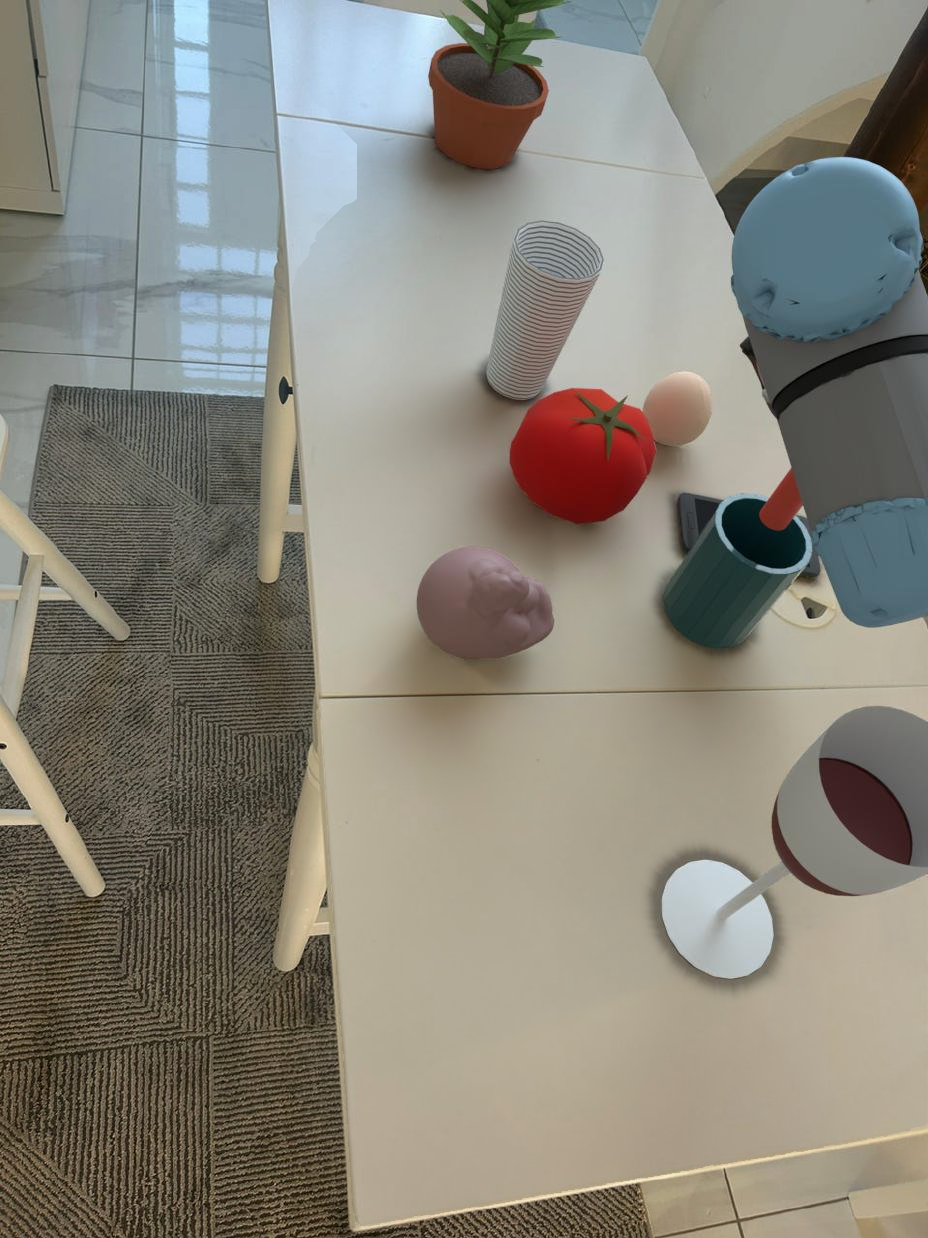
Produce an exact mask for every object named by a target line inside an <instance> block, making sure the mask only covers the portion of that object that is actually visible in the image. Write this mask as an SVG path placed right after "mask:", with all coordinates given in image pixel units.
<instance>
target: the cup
mask: <svg viewBox="0 0 928 1238" xmlns="http://www.w3.org/2000/svg"><path fill="white" fill-rule="evenodd" d="M510 248H511V249H510V253H509V259H508V263H507V267H506V273H505V278H504V282H503V286H502V287H503V288H502V292H501V297H500V302H499V307H498V310H497V311H498V312H497V315H496V320H495V321H496V322H495V327H494V331H493V337H492V341H491V342H492V343H491V346H490V351H489V356H488V360H487V361H488V362H487V365H486V370H485V375H486V378H487V382H488V383H489V385H490V386H491V388H492V389H493V390H494V391H496V392H497V393H498V394H500V395H502V396H503V397H506V398H509V399H512V400H518V401H526V400H531V399H533V398H535V397H536V396H537V395H539V394H540V393H541V392H542V390H543V388H544V387H545V385H546V382H547V380H548V378H549V377H550V374H551V373H552V371H553V368H554V367H555V364H556V363H557V361H558V359H559V356H560V354H561V353H562V351H563V348H564V347H565V345H566V343H567V341H568V339H569V337H570V335H571V333H572V331H573V329H574V327H575V325H576V323H577V321H578V319H579V317H580V315H581V313H582V311H583V309H584V307H585V305H586V303H587V302H588V299H589V297H590V295H591V293H592V291H593V290H594V287H595V285H596V283H597V281H598V279H599V277H600V275H601V273H602V271H603V267H604V264H605V259H604V256H603V252H602V249H601V248H600V247H599V245H597V244H596V242H595V241H594V240H593V239H592V238H591V237H590V236H588V235H587V234H585V233H584V232H582V231H580V230H579V229H577V227H573V226H570V225H567V224H565V223H561V222H558V221H550V220H537V221H530V222H526V223H525V224H524V225H521V226H520V227H519V228H516V231H515V234H514V236H513V239H512V243H511V247H510Z"/></svg>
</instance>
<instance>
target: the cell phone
mask: <svg viewBox="0 0 928 1238" xmlns="http://www.w3.org/2000/svg"><path fill="white" fill-rule="evenodd" d="M724 500H725V499H720V498H715V497H711V496H705V495H701V494H695V493H690V492H682V493H680V494H679V495H678V498H677V512H678V521H679V532H680V542H681V547H682V550H683V552H684V553H685V554H687V553H688V551H689V550H690V548H691V547H692V545H693V544H694V542H695V541H696V539H697V538H698V536H699V535H700V533H701V532H702V530H703V529H704V527H705V525H706V524H707V522H708V521H709V519H710V518H711V516H712V515H713V513H714V512H715V510H716V509H717V507H718V506H719V504H720V503H721V502H722V501H724ZM796 516H797V517H798V518H799V519H800V521H801V522H802V523H803V524H804V526H805V527H806V528H807V530H808V533H809V535H810V537H811V535H812V533H811V530H810V527H809V523H808V520H807V517H806V516H803V515H799V514H796ZM821 571H822V570H821V564H820V558H819V556H818V555H817V554H816V552H815V549H814V547H813V544H812V556H811V558H810V561H809V563H808V565H807V566H806V567H805V568H804V570H803V571H802V572H801V573H800V574H799V576H798V577H803V578H808V579H813V578H817V577H818V576H820V573H821Z"/></svg>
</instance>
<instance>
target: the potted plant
mask: <svg viewBox="0 0 928 1238" xmlns="http://www.w3.org/2000/svg"><path fill="white" fill-rule="evenodd" d="M459 1H460V2H461V3H462V4H463V5H464V6H465V7H466V8H467V9H469V10H470V11H471V12H472V13H473V14H474V15H475V16H476V17H477V18H478V19H479V20H481V21H482V22H483V23H484V29H483V33H481V32H479V31H477V30H474V28H472V27H471V25H469V24H468V23H467V22H466V21H464V20H463V19H462V18H460V17H459V16H456V15H454V14H453V15H452V14H450V15H447V14H445V12H444V11H443V10H441V9H439V11H440V13H441V14H442V15H443V16H444V18H445V20H446V21H447V23H448V24H449V25H450V27H452V29H453V30H454V31H455V32H456V33H457V34H458V35H459V36H460V37H461V38H462V39H463V40H464V41H465V42H458V43H452V44H448V45H444V46H442V47H440V48H439V49H437V50H435V52H434V53H433V55H432V57H431V58H430V63H429V70H428V85H429V87H430V89H431V91H432V108H433V127H434V128H433V129H434V141H435V144H436V146H437V147H438V149H439V150H440V151H441V152H442V153H443V154H444V155H446V156H447V157H448V158H450V159H451V160H453V161H455V162H457V163H459V164H462V165H465V166H467V167H470V168H477V169H483V170H492V169H493V170H494V169H499V168H502V167H505V166H506V165H507V164H509V163H510V162H511V160H512V159H513V157H514V155H515V154H516V152H517V150H518V149H519V147H520V145H521V144H522V141H523V140H524V138H525V136H526V135H527V133H528V131H529V129H530V128H531V126H532V124H533V122H534V121H535V120H536V119H538V118H539V117H540V116H542V114H543V111H544V108H545V105H546V102H547V99H548V96H549V92H550V89H549V87H548V82H547V80H546V78H545V77H544V76H543V75H542V73H541V72H540V70H538V69H537V68H536V67H539V68H544V66H543V65H542V64H543V59H542V58H540V57H538V56H534V55H531V54H525V53H524V52H525V51H526V50H527V49H528V47H529V46H530V45H531V43H532V42H533V41H541V40H543V41H544V40H552V39H560V38H562V36H556V33H555V32H556V31H554V30H553V29H550V28H535V26H534V25H535V23H536V21H537V20H538V19H537V17H536V18H535V19H533V20H531V21H530V22H525V21H519V18H520V16H521V15H524V14H530V13H534V12H538V11H541V10H546V9H550V8H554V7H559V6H562V5H567V4H568V3H572V2H573V0H568V1H565V0H485V1H486V8H487V12H486V10H484V9H483V8H482V7H481V6H480V5H479V4H478V3H476V2H475V1H474V0H459Z"/></svg>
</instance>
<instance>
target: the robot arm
mask: <svg viewBox="0 0 928 1238" xmlns="http://www.w3.org/2000/svg"><path fill="white" fill-rule="evenodd" d="M919 218H920V217H919V213H918V208H917V206H916V203H915V201H914V198H913V197H912V195H911V193H910V192H909V190H908V189H907V187H906V186H905V184H904V183H903V182H902V181H901V180H900V179H899V178H898V177H897V176H895V174H893V173H892V172H890V171H889V170H887V169H886V168H884V167H882V166H881V165H879V164H876V163H873V162H871V161H869V160H866V159H862V158H858V157H857V158H856V157H850V156H849V157H848V156H838V157H837V156H831V157H823V158H818V159H816V160H812V161H808V162H805V163H802V164H795V166H793V167H792V168H791V169H788V170H787V171H784V172H783V173H781V174H779V175H778V176H776V177H774V179H773V180H771V181H770V182H768V183H767V184H766V185H765V186H764V187H763V188H762V189H761V190H760V191H759V192H758V193H757V194H756V195H755V196H754V198H753V199H752V200H751V201H750V202H749V204H748V206H747V207H746V208H745V210H744V212H743V214H742V216H741V217H740V219H739V222H738V224H737V226H736V229H735V231H734V236H733V240H732V246H731V268H732V275H731V277H730V288H731V292H732V293H733V295H734V297H735V300H736V304H737V308H738V310H739V311H740V313H741V316H742V320H743V323H744V326H745V330H746V332H747V336H746V338H744V339H743V341H742V342H741V343H740V344H739V348H740V349H741V352H742V353H743V355H744V356H745V357H746V358H747V359H748V360H749V362H750V363H751V365H752V367H753V369H754V372H755V374H756V377H757V379H758V382H759V383H760V386H761V390H762V391H761V396H762V398H763V400H764V401H765V403H766V406H767V407H768V409H769V411H770V413H771V414H772V415H773V416H774V418H775V419H776V421H777V424H778V428H779V431H780V434H781V438H782V440H783V445H784V448H785V451H786V454H787V457H788V460H789V464H790V468H791V467H792V471H793V474H794V477H795V481H796V484H797V487H798V490H799V494H800V497H801V500H802V503H803V506H802V507H803V510H804V513H805V518H807V520H808V523H809V527H810V530H811V533H812V535H811V540H812V544H813V547H814V549H815V552H816V554H817V555H818V557H820V560H821V563H822V565H823V567H824V570H825V572H826V575H827V578H828V581H829V583H830V585H831V588H832V590H833V593H834V595H835V599H836V601H837V603H838V605H839V609H840V610H841V612H842V614H843V616H844V617H845V618H846V619H847V620H848V621H850V622H851V623H853V624H855V625H857V626H860V627H863V628H870V629H871V628H872V629H874V628H882V627H888V626H894V625H899V624H902V623H907V622H911V621H914V620H917V619H921V618H925V617H928V293H927V291H926V288H925V285H924V283H923V280H922V276H921V272H920V268H921V265H922V263H923V257H922V255H921V254H922V251H924V247H925V243H924V238H923V235H922V233H921V230H920V229H921V228H920V219H919Z"/></svg>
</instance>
